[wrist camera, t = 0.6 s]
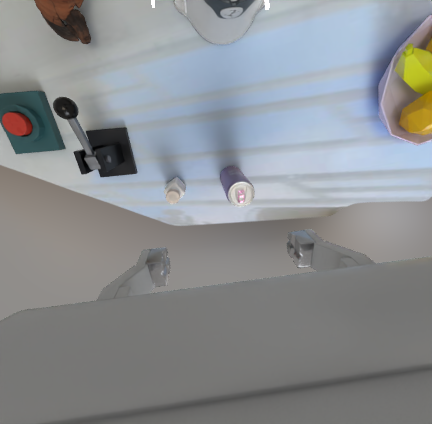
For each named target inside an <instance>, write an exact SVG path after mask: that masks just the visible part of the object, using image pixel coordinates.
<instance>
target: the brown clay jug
mask: <svg viewBox="0 0 432 424" xmlns="http://www.w3.org/2000/svg"><path fill="white" fill-rule="evenodd" d="M34 1H35V3H36V6H37V8H38V9H39V10H40V11H41V14H42V16H43V17H44V19H45V20H46V22H47V23H48V25H49V26H50V27H51V28H52V29H53V30H54V31H55V32H56V33H57V34H58V35H59V36H61V37H62V38H64V39H67V40H69V41H79V39H80V40H81V42H82V43H83V44H88V43H90V41H91V37H90V34H89V30H88V27H87V25H86V21H85V18H84V16H83V15H82V14H81V13H80V11H78V10H76V9H75V10H74V6H75V5H76V6H77V7H78V8H80V7H81V5H82V2H83V0H34ZM61 19H62V20H64V21H66V23H67V25H65V24H64V22H63V21H62V20H61ZM78 38H79V39H78Z"/></svg>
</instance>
